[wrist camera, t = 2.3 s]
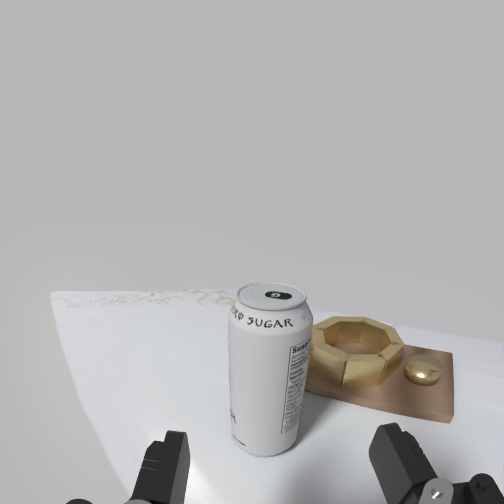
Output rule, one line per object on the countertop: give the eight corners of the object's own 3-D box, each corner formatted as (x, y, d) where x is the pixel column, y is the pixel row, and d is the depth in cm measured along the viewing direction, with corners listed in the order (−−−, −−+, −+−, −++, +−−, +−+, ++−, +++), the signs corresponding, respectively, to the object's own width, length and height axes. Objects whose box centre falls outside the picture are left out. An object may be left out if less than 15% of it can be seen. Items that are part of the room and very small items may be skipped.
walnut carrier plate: (449, 360, 34) (452, 353, 34) (449, 423, 23) (453, 415, 22) (302, 329, 46) (303, 322, 46) (256, 373, 35) (257, 365, 35)
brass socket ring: (414, 337, 40) (419, 316, 39) (445, 384, 28) (454, 360, 27) (307, 337, 41) (309, 315, 41) (311, 391, 30) (315, 365, 29)
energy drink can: (245, 411, 28) (247, 275, 25) (302, 424, 26) (321, 284, 22) (220, 450, 23) (212, 301, 19) (285, 468, 21) (305, 317, 17)
